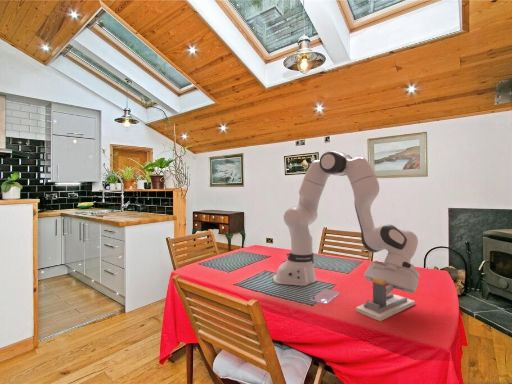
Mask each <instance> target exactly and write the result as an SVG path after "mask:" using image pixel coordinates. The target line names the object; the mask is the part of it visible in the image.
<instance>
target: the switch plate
mask: <svg viewBox="0 0 512 384" xmlns="http://www.w3.org/2000/svg"><path fill="white" fill-rule="evenodd" d="M415 303H416V301H415V300H413V299H410V298H408V297H406V296H405V297H404V296H401V295H398V294H394V293H393V292H390V293H388V295H387V296H386V306H384V307H382V308H380V305H378V304H376V303H373V300H368V301H366V302H365V303H362V304H361V305H358V306H356V307H355V312H357V313H359V314H362V315H364V316H366V317H369V318H371V319H373V320H376V321H378V322H382V321H383V320H386V319H388V318H389V317H391V316H394V315H396V314H398V313H400V312H402V311H404V310H406V309H408V308H410V307H412V306H415Z"/></svg>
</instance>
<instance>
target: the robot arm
mask: <svg viewBox="0 0 512 384" xmlns="http://www.w3.org/2000/svg"><path fill="white" fill-rule="evenodd" d="M332 175H333V176H339V177H340V176H346V177H347V178H348V181H349V182H350V183H349V184H350V186H351V189H352V191H353V197H354V208H355V209H354V210H355V212H356V217H357V219H358V220H357V221H358V225H359V227H360V233H361V234H360V236H361V239H360V240H361V243H362V245H363V247H364V248H365V249H366V250H367V251H368V252H370V253H378V252H381V251H383V250H385V251H387V252H388V253H387V254H386V257H385V259H384V261H383V262H382V261H378V260H375V261H372V262H370V264H369V266H368V267H367V268H366V269H365V272H364V273H363V275H364V277H365V279H366V280H367V281H369V282H372V279H375V278H378V279H381V280H385V281H386V296H387V295H388V294H390V293H392V292H393V291H394V289H395V290H398V291H402V292H405V293H408V294H414V293H416V292H417V288H418V285H419V278H420V275H421V274H420V273H419V271H418V269H417V268H416V266H415V265H414V264H412V263H411V261H412V258H413V257H414V255H415V254H416V251H417V248H418V244H419V239H418V237H417V235H416V234H415V233H414V232H412V231H411V230H409V229H400V228H398V227H396V226H395V225H392V224H383V225H380V226H378V227H375V223H374V220H373V216H372V212H371V207H372V204H373V202H374V201H375V199H376V198H377V196H378V195H379V193H380V183H379V180H378V179H377V176H376V174H375V171H374V169H373V167H372V166H371V163H369V161H368V160H367V159H366V157H361V156H356V157H352V156H351V155H349V154H346V153H344V152H342V151H335V150H330V151H329V150H328V151H326V152H324V153H322V155H320V159H314V160H313V161H312V162H311V163H310V165H309V166H308V168H307V170H306V172H305V175H304V177H303V180H302V181H301V185H300V188H299V190H298V194H299V197H298V198H299V200H298V204H297V205H296V206H291V207H290V208H288V209H287V210H286V211H284V214H283V222H284V224H285V225H286V226H287V228H288V231H289V235H290V242H291V243H290V247H291V248H290V249H291V252H290V251H287V252H286V256H287V260H285V261H284V262H283V263H281V264H280V265H279V267H278V268H277V271H276V273H275V274H273V278H272V281H273V282H274V284H276V285H278V284H279V285H287V286H289V285H291V286H293V285H294V286H302V287H303V286H305V287H307V286H308V285H310V284H313V283H315V282H316V281H317V277H316V274H315V273H316V272H315V268H314V264H315V255H314V252H313V251H314V250H313V249H314V248H313V245H314V243H313V237H312V234H311V233H310V229H309V225H312V224H314V222H315V221H316V220H317V218H318V209H319V203H320V199H321V196H322V193H323V191H324V189H325V185H326V184H327V180H329V179H328V178H329V177H331V176H332Z"/></svg>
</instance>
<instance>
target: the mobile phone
mask: <svg viewBox="0 0 512 384" xmlns="http://www.w3.org/2000/svg"><path fill="white" fill-rule="evenodd" d="M338 295H340V292H339V291H337V290H332V289H328V288H324V289H322V290H321V291H319V292H318V293H317V294H315V295H314V296H312V297H311V298H310V301H312V302H317V303H320V304H325V305H327V304H328V303H330V302H331V301H333V300H334V299H335V298H336V297H337V296H338Z"/></svg>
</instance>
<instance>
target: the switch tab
mask: <svg viewBox="0 0 512 384" xmlns="http://www.w3.org/2000/svg"><path fill="white" fill-rule="evenodd" d="M371 282H372V301H373V303H376V304H378V305H380V308H382V307H384V306H386V289H387V286H386V281H385V280H381V279H378V278H375V279H372V281H371Z"/></svg>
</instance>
